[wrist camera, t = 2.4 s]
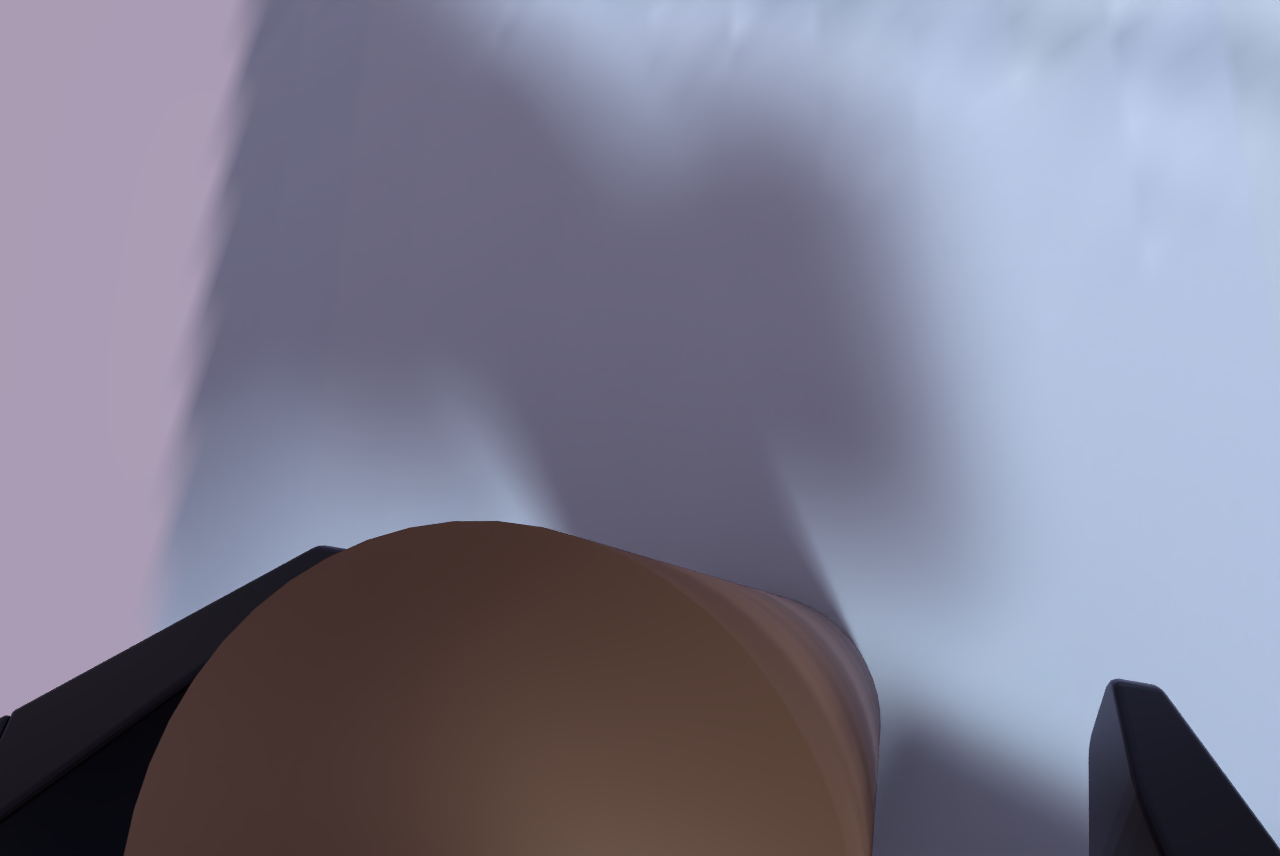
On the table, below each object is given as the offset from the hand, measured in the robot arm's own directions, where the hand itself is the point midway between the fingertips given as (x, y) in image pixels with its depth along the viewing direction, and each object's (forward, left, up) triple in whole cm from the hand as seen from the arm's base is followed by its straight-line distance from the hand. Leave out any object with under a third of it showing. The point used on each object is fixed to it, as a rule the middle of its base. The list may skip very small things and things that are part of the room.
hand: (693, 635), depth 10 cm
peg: (-1, 0, -7) cm, 7 cm away
